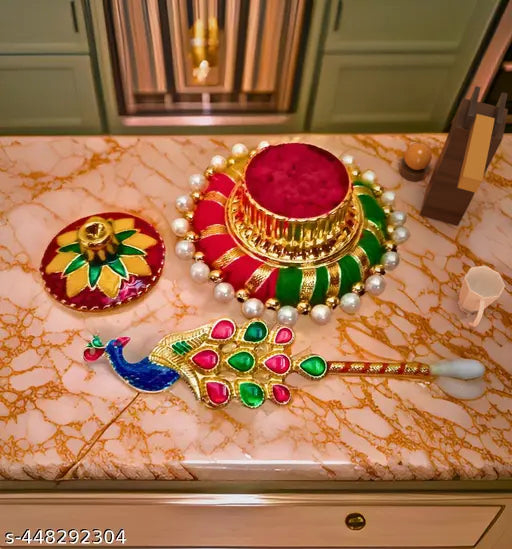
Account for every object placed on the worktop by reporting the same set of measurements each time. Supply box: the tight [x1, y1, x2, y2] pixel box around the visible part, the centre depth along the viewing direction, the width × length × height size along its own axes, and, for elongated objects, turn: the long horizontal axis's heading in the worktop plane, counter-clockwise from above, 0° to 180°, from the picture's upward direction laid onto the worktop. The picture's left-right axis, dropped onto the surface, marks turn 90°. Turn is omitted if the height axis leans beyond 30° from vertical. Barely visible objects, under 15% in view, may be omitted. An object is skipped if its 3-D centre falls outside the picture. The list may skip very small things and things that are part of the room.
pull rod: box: [458, 114, 495, 194], centre depth 93 cm, size 15×3×3 cm, turn 160°
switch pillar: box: [419, 85, 509, 227], centre depth 109 cm, size 8×8×27 cm
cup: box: [457, 265, 506, 328], centre depth 103 cm, size 7×10×8 cm
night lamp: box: [398, 142, 433, 182], centre depth 123 cm, size 6×6×7 cm
